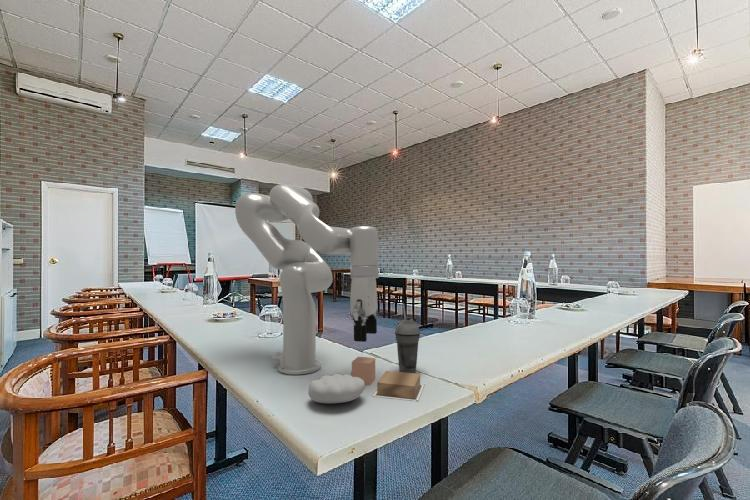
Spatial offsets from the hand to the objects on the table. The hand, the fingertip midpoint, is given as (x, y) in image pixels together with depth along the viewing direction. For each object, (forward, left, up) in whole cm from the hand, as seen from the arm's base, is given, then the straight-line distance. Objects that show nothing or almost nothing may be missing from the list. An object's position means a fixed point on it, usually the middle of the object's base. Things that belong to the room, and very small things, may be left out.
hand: (365, 337), depth 94 cm
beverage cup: (+9, +10, -12) cm, 18 cm away
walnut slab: (+10, -4, -12) cm, 16 cm away
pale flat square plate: (+10, -4, -12) cm, 16 cm away
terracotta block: (-1, 0, -12) cm, 12 cm away
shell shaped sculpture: (-3, -14, -12) cm, 19 cm away
